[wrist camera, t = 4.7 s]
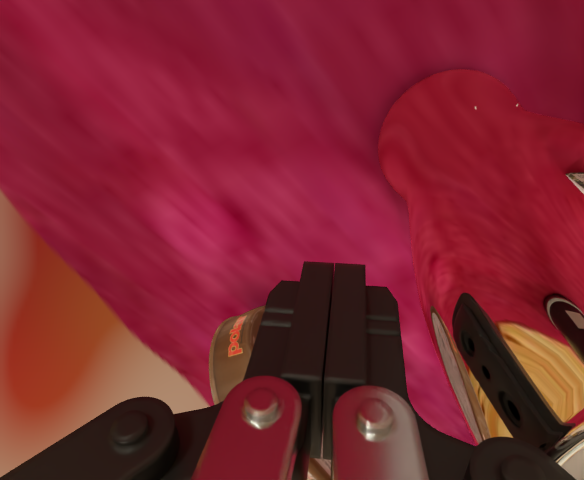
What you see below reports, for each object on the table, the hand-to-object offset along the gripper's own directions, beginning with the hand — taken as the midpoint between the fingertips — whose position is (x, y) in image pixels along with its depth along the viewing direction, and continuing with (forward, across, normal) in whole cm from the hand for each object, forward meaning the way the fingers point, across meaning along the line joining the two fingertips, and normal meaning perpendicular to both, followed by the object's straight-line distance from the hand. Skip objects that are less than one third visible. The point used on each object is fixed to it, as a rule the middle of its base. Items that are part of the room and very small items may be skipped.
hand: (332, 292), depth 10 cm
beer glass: (+11, -4, 0) cm, 12 cm away
